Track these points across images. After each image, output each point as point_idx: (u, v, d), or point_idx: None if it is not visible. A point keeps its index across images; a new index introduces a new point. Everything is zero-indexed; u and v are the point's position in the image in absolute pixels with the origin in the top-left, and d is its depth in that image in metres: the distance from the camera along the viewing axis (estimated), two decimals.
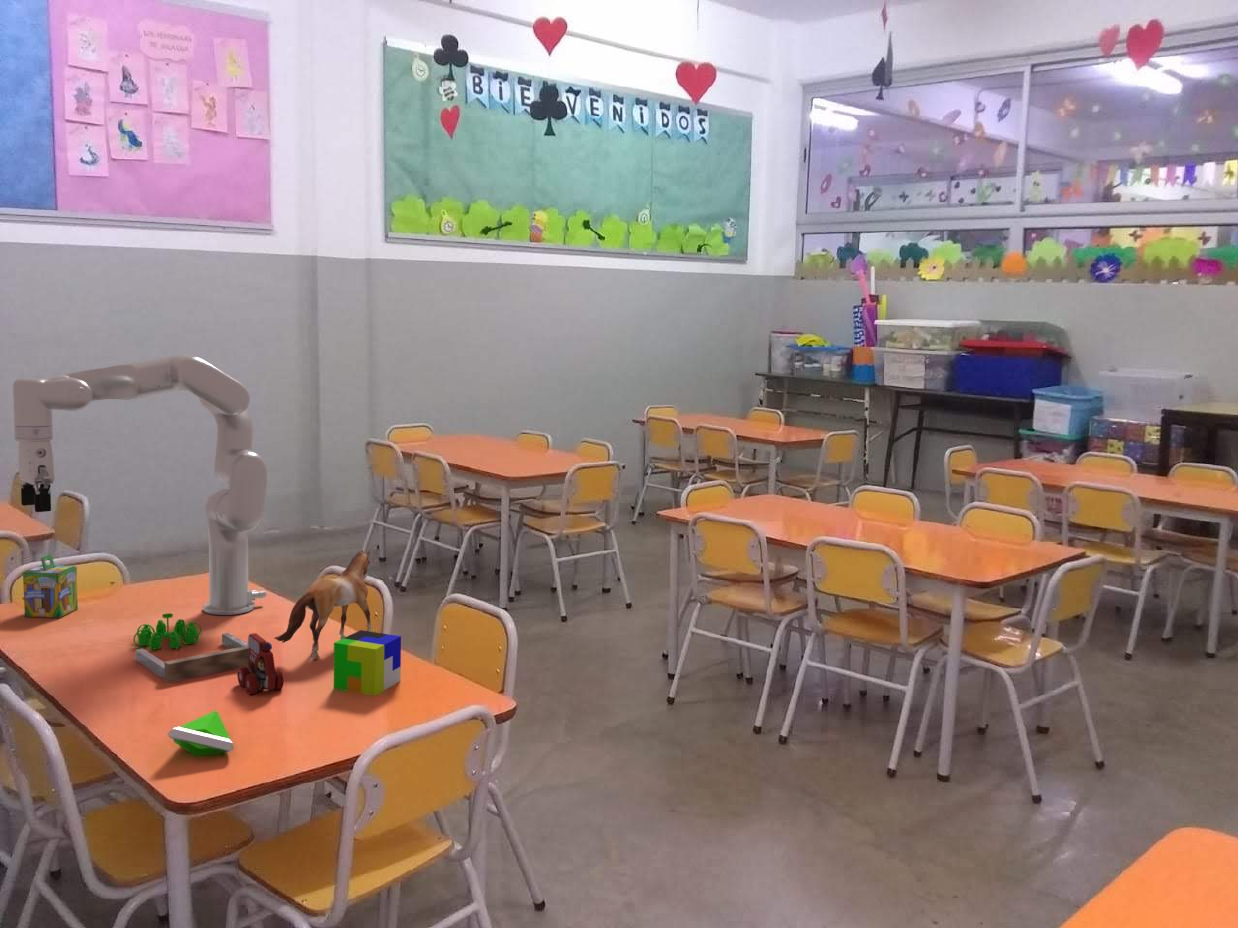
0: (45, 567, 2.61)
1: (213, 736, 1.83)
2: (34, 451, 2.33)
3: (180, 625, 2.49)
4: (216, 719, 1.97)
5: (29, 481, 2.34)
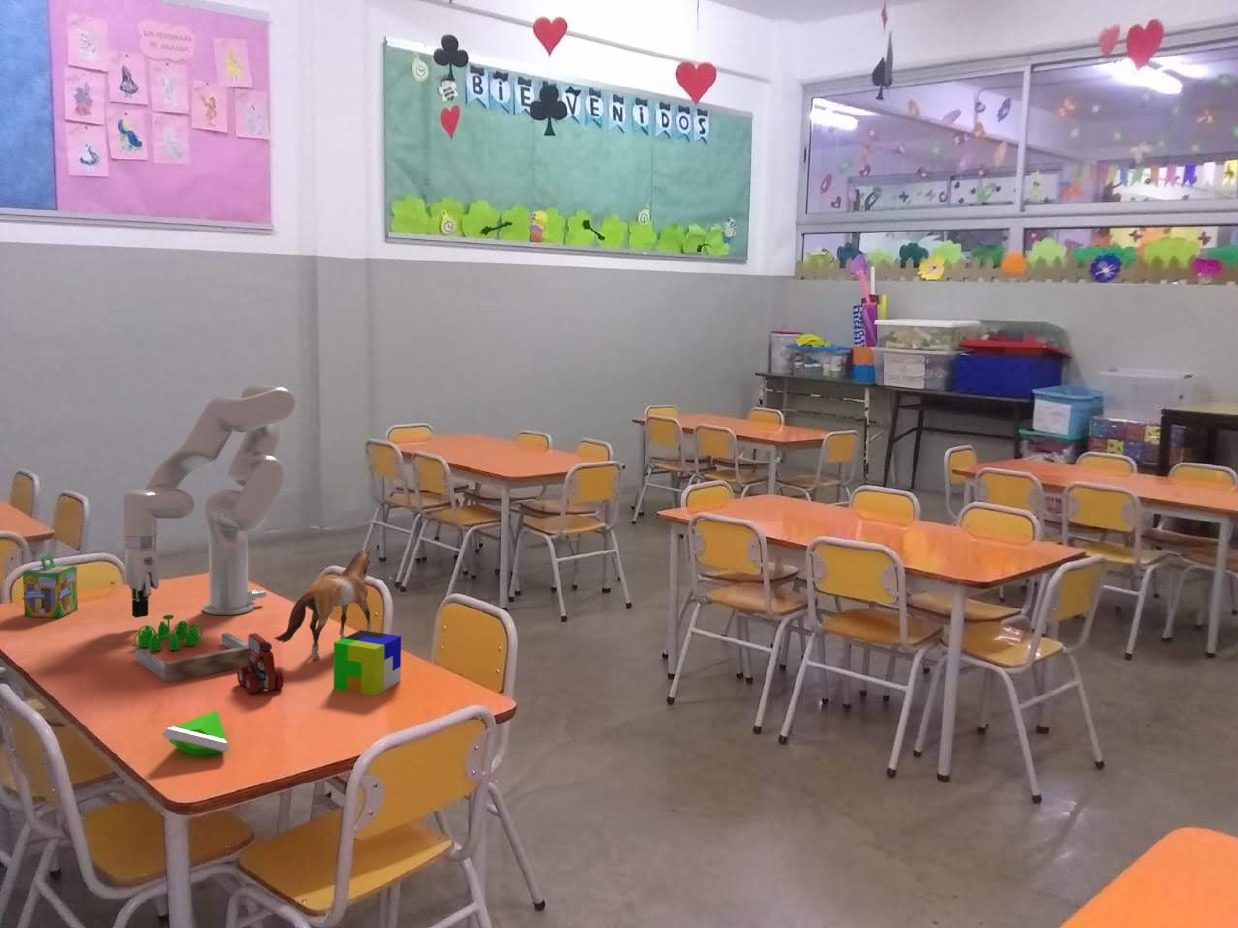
0: (45, 567, 2.61)
1: (208, 736, 1.82)
2: (142, 560, 2.49)
3: (182, 627, 2.48)
4: (214, 719, 1.97)
5: (136, 587, 2.50)
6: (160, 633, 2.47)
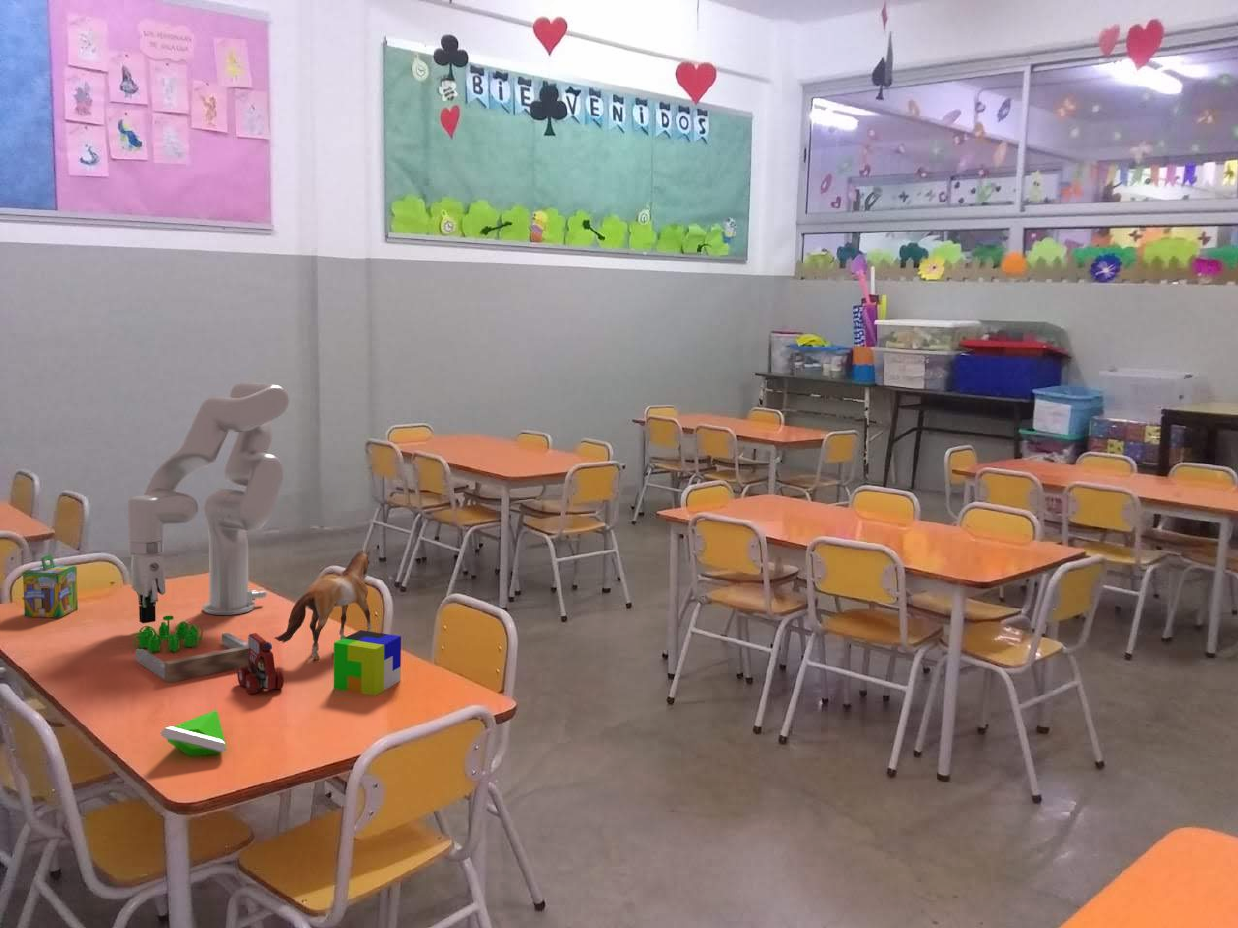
0: (45, 567, 2.61)
1: (206, 736, 1.82)
2: (148, 566, 2.47)
3: (182, 627, 2.48)
4: (213, 719, 1.97)
5: (143, 593, 2.49)
6: (161, 634, 2.47)
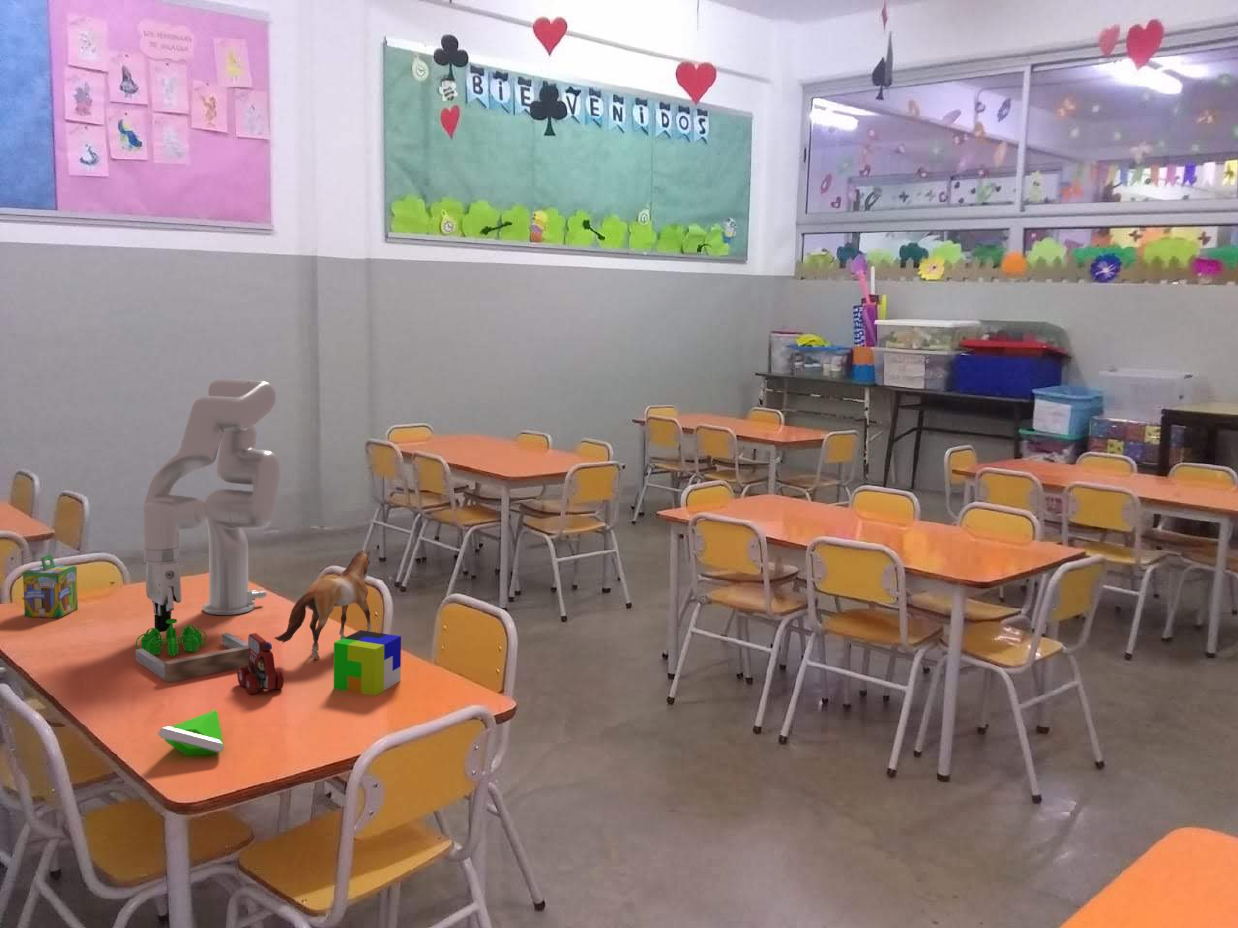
0: (45, 567, 2.61)
1: (203, 736, 1.82)
2: (164, 573, 2.41)
3: (188, 631, 2.44)
4: (212, 719, 1.97)
5: (158, 602, 2.42)
6: (167, 636, 2.44)
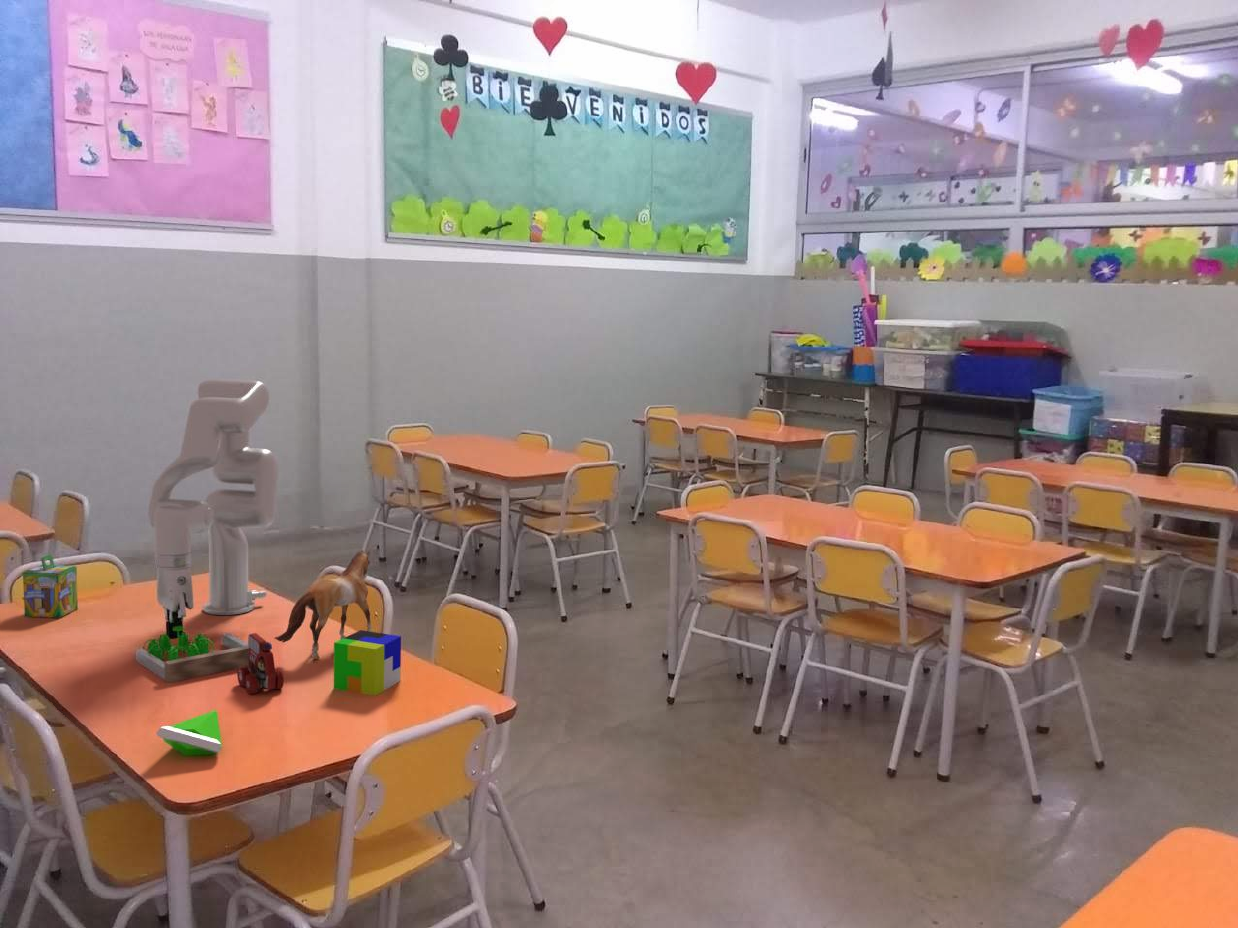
0: (45, 567, 2.61)
1: (201, 736, 1.82)
2: (175, 579, 2.36)
3: (198, 640, 2.39)
4: (212, 719, 1.97)
5: (170, 608, 2.38)
6: (179, 644, 2.40)
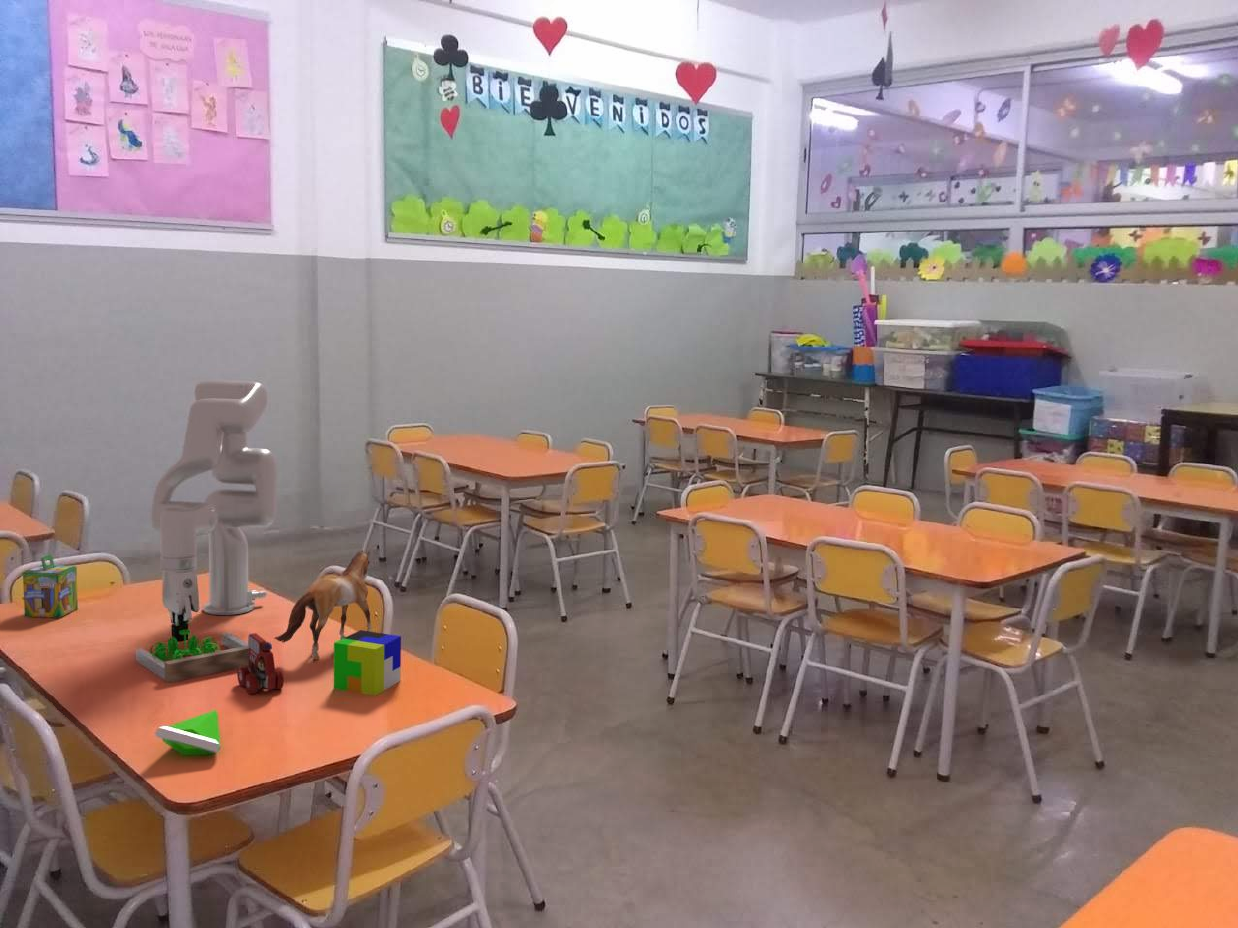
0: (45, 567, 2.61)
1: (200, 736, 1.82)
2: (181, 582, 2.34)
3: (206, 644, 2.37)
4: (211, 719, 1.97)
5: (176, 611, 2.35)
6: (188, 647, 2.38)
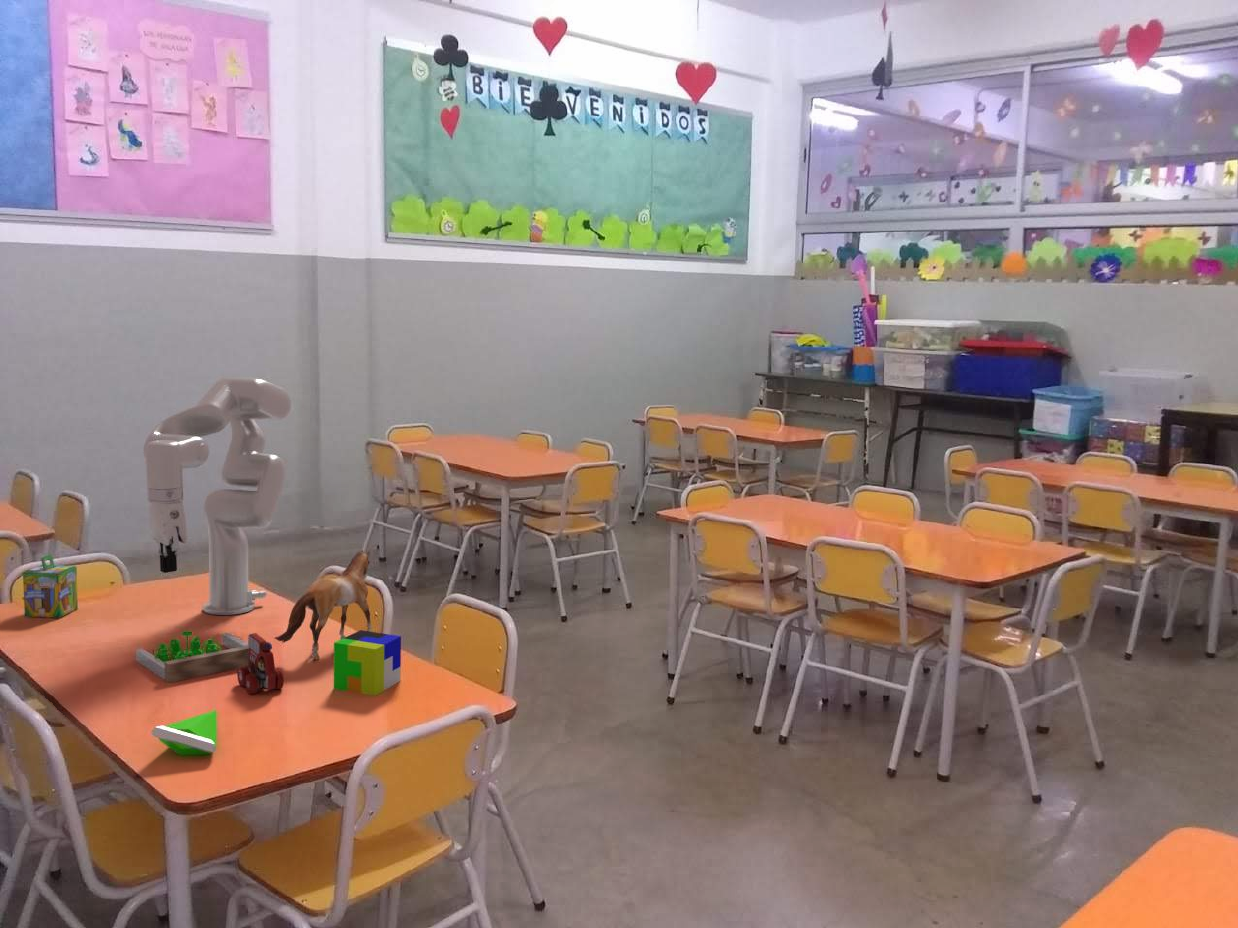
0: (45, 567, 2.61)
1: (196, 736, 1.82)
2: (168, 513, 2.37)
3: (208, 645, 2.35)
4: (210, 719, 1.97)
5: (163, 542, 2.39)
6: (191, 648, 2.37)
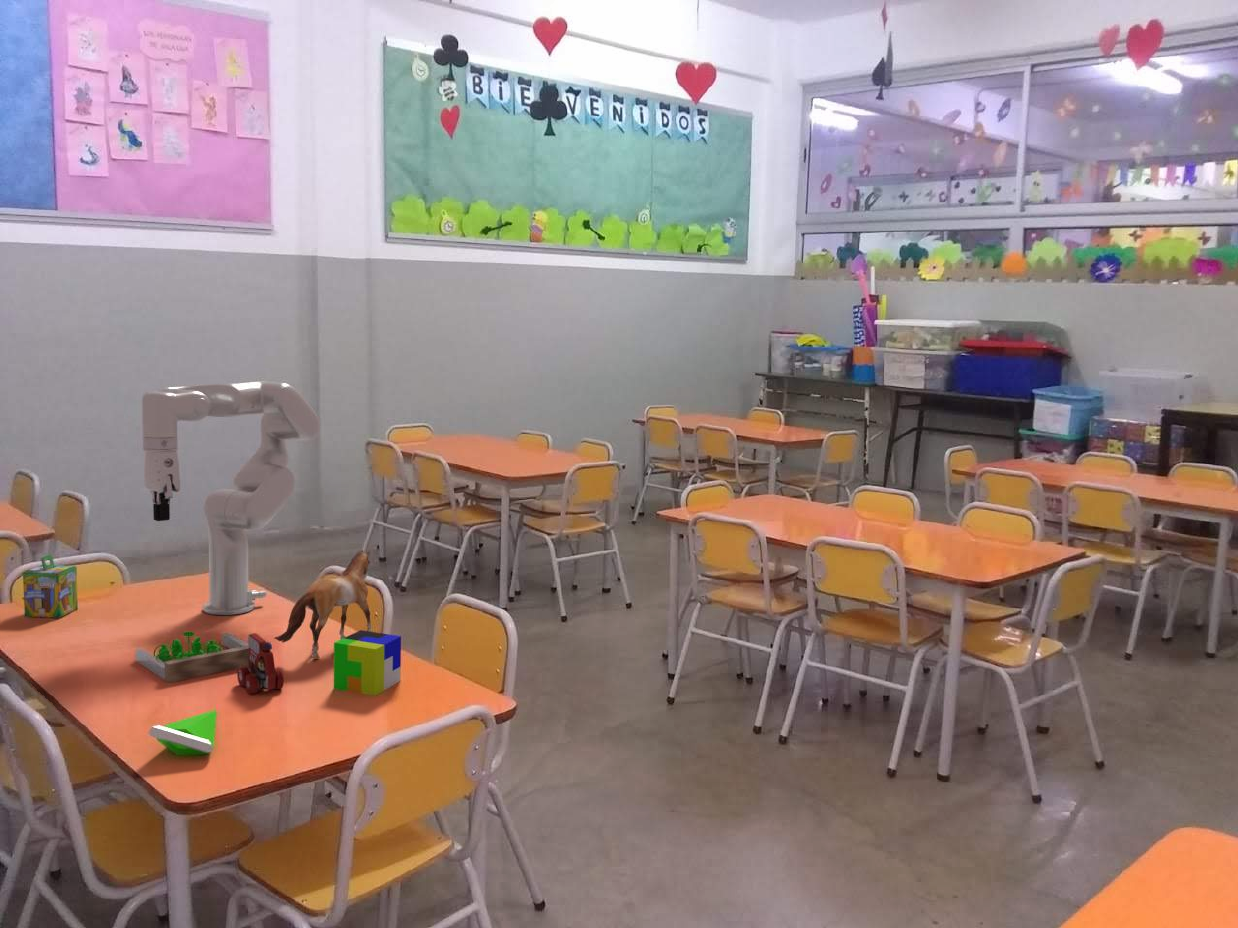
0: (45, 567, 2.61)
1: (192, 736, 1.82)
2: (162, 461, 2.45)
3: (209, 646, 2.35)
4: (209, 719, 1.97)
5: (157, 489, 2.46)
6: (192, 649, 2.37)
